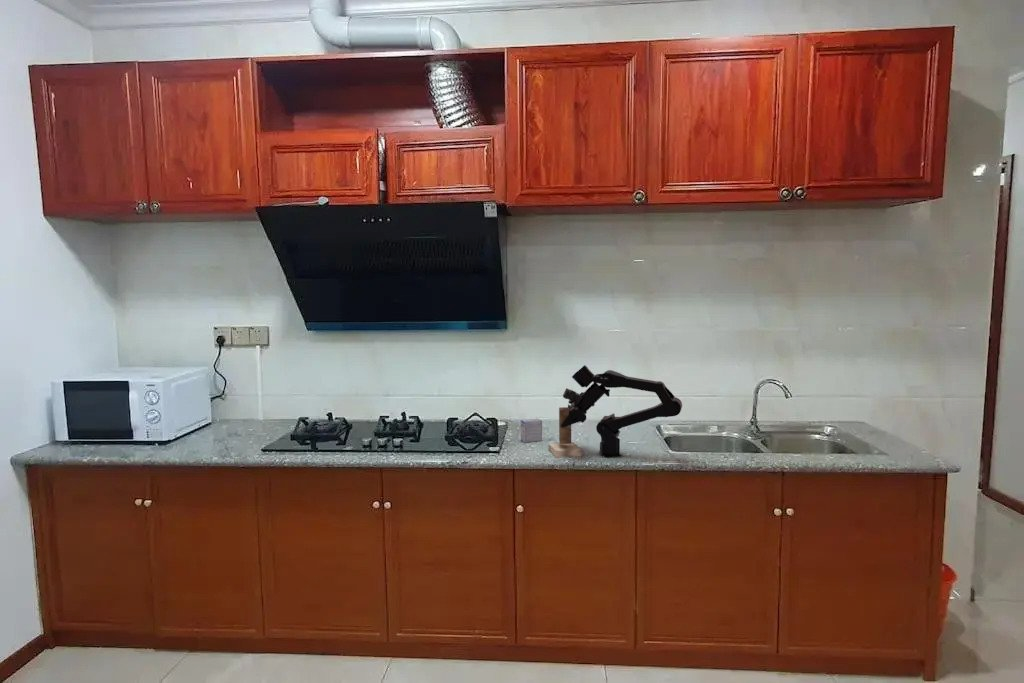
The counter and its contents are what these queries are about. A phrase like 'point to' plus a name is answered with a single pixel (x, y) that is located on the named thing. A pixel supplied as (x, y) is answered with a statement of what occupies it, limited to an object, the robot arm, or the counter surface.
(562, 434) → the walnut block
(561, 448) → the birch block
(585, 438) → the counter surface
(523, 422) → the medicine box
